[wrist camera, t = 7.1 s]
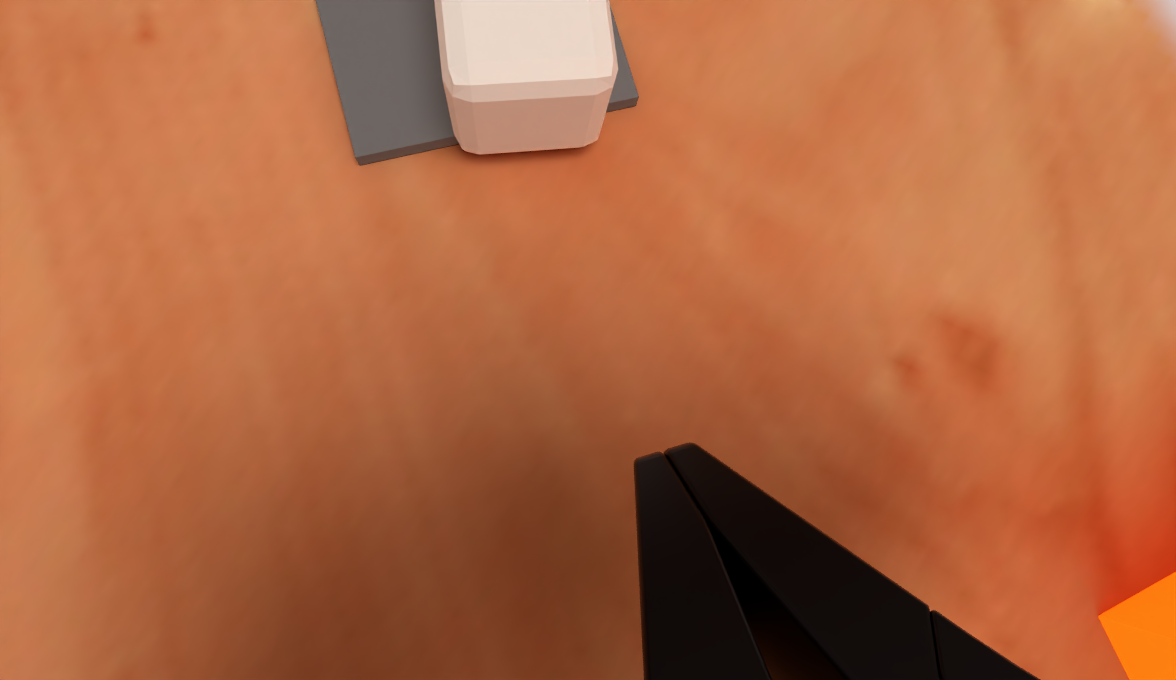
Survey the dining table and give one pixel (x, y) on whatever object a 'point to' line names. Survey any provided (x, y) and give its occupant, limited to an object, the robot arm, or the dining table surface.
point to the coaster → (404, 76)
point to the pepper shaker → (526, 72)
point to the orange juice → (1145, 631)
